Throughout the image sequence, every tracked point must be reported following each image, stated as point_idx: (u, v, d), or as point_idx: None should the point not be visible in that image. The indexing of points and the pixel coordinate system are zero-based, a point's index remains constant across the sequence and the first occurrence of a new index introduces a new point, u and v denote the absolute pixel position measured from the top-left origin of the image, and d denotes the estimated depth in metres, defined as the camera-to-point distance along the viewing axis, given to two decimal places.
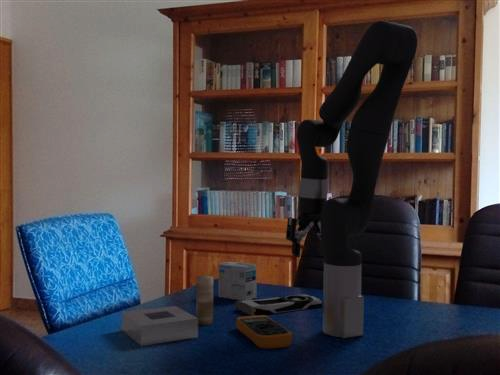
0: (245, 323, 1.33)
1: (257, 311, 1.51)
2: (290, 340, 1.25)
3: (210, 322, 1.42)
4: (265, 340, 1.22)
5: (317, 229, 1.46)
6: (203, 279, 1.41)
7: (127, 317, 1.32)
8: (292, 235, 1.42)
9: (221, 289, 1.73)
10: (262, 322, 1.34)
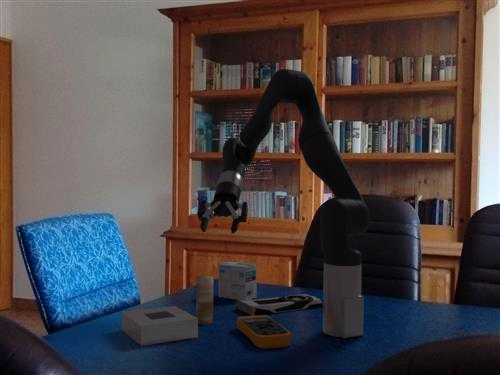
0: (245, 323, 1.33)
1: (257, 311, 1.51)
2: (289, 340, 1.24)
3: (210, 322, 1.42)
4: (264, 340, 1.22)
5: (226, 209, 1.58)
6: (203, 279, 1.41)
7: (127, 317, 1.32)
8: (199, 211, 1.59)
9: (221, 289, 1.73)
10: (262, 322, 1.34)
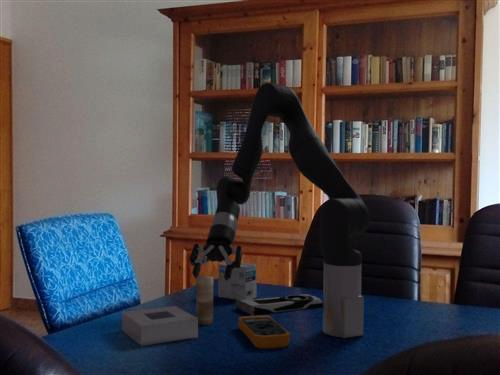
0: (245, 323, 1.34)
1: (256, 310, 1.52)
2: (287, 341, 1.24)
3: (210, 322, 1.42)
4: (262, 340, 1.22)
5: (220, 254, 1.52)
6: (203, 279, 1.41)
7: (127, 317, 1.32)
8: (191, 256, 1.53)
9: (221, 289, 1.73)
10: (263, 322, 1.34)
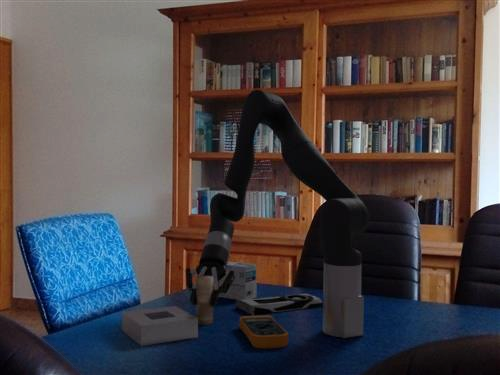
0: (246, 322, 1.34)
1: (256, 310, 1.52)
2: (286, 341, 1.24)
3: (210, 322, 1.42)
4: (260, 340, 1.22)
5: (211, 275, 1.46)
6: (203, 279, 1.41)
7: (127, 317, 1.32)
8: (187, 281, 1.46)
9: None
10: (263, 322, 1.34)
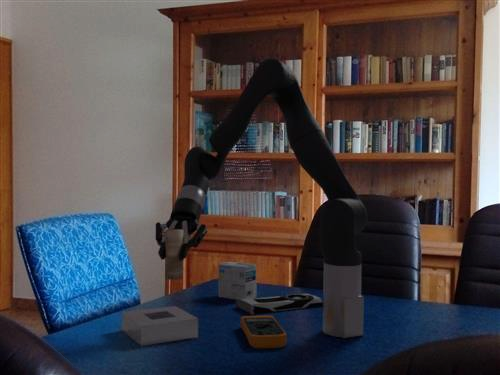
0: (246, 322, 1.34)
1: (256, 309, 1.53)
2: (283, 341, 1.24)
3: (179, 277, 1.35)
4: (257, 339, 1.22)
5: None
6: (172, 231, 1.34)
7: (127, 317, 1.32)
8: (156, 235, 1.39)
9: (221, 289, 1.73)
10: (263, 322, 1.34)
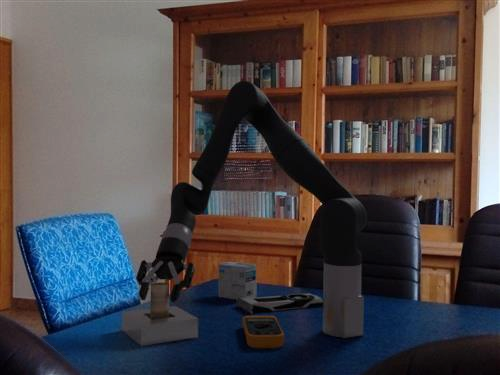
0: (246, 322, 1.34)
1: (255, 308, 1.54)
2: (281, 342, 1.23)
3: None
4: (254, 339, 1.23)
5: (169, 271, 1.35)
6: (157, 287, 1.31)
7: (127, 317, 1.32)
8: (138, 274, 1.36)
9: (221, 289, 1.73)
10: (264, 322, 1.34)
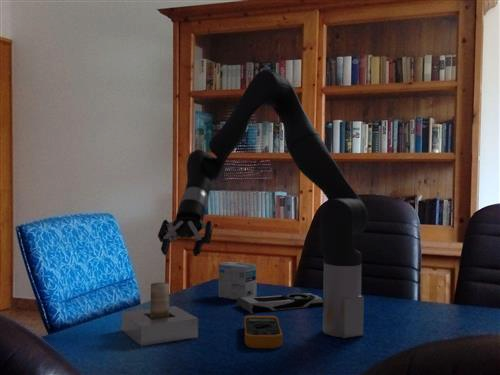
0: (247, 322, 1.34)
1: (255, 308, 1.55)
2: (278, 342, 1.23)
3: None
4: (251, 339, 1.23)
5: (189, 229, 1.48)
6: (157, 287, 1.31)
7: (127, 317, 1.32)
8: (160, 232, 1.49)
9: (221, 289, 1.73)
10: (264, 322, 1.34)
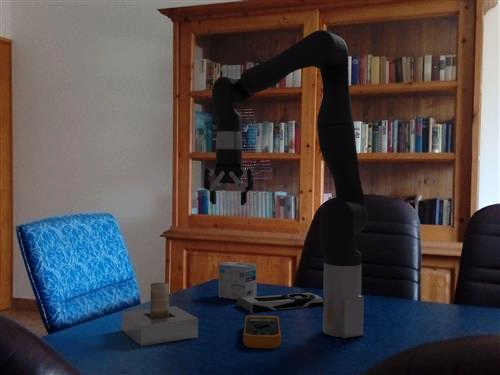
0: (247, 321, 1.35)
1: (255, 307, 1.55)
2: (276, 342, 1.23)
3: None
4: (249, 339, 1.23)
5: (232, 179, 1.56)
6: (157, 287, 1.31)
7: (127, 317, 1.32)
8: (204, 183, 1.58)
9: (221, 289, 1.73)
10: (265, 322, 1.34)
